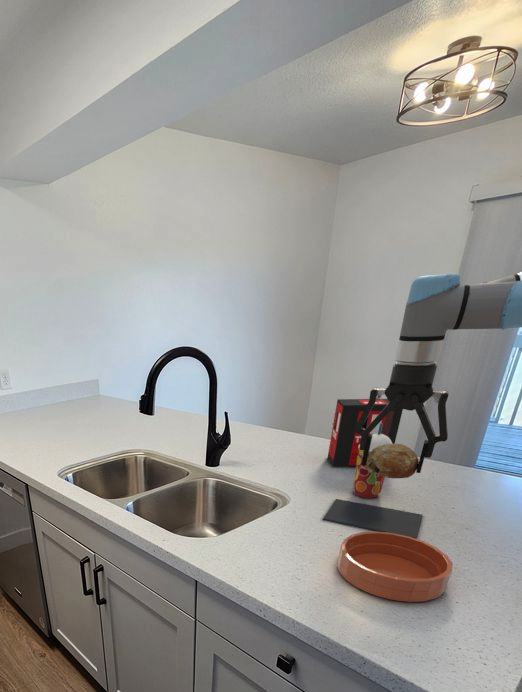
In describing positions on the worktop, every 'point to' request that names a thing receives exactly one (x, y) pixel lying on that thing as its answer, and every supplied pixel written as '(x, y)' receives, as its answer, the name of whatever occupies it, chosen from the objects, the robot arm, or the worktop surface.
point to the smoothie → (364, 480)
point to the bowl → (394, 566)
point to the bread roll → (392, 461)
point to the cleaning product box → (345, 421)
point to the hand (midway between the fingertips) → (390, 467)
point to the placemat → (374, 518)
